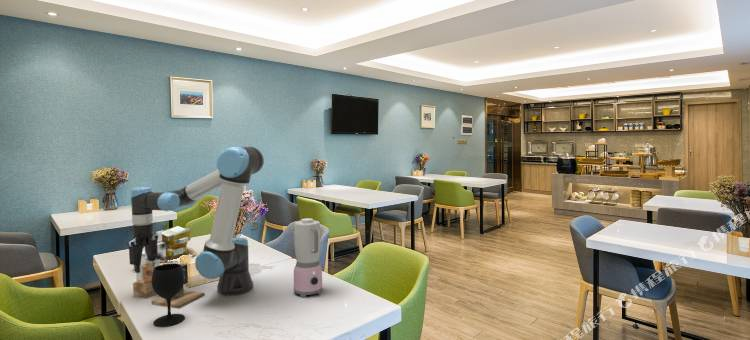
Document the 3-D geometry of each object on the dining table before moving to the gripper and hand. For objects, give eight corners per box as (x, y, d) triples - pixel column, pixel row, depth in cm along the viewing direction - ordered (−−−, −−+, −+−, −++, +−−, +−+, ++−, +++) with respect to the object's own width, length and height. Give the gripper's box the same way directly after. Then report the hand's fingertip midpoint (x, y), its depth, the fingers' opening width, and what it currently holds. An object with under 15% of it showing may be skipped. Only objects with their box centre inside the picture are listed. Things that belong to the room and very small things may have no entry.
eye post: (188, 294, 168) (187, 264, 167) (173, 301, 160) (172, 269, 159) (183, 293, 169) (182, 263, 168) (168, 300, 161) (167, 269, 160)
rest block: (156, 293, 171) (155, 280, 171) (146, 298, 166) (145, 284, 166) (143, 292, 173) (143, 279, 173) (133, 296, 168) (132, 283, 168)
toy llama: (145, 267, 210) (143, 229, 208) (166, 271, 202) (165, 233, 200) (130, 271, 203) (129, 232, 202) (152, 276, 195) (150, 236, 194)
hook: (181, 283, 166) (181, 267, 166) (173, 287, 162) (173, 270, 162) (145, 279, 172) (145, 263, 172) (136, 282, 168) (136, 266, 167)
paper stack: (203, 256, 230) (203, 227, 229) (158, 266, 212) (156, 235, 211) (185, 249, 247) (184, 222, 246) (141, 257, 228) (140, 228, 227)
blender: (289, 290, 174) (288, 218, 172) (314, 285, 181) (313, 215, 179) (303, 302, 161) (302, 224, 159) (330, 296, 168) (329, 221, 166)
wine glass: (177, 312, 152) (175, 261, 151) (190, 319, 145) (188, 266, 144) (148, 321, 144) (146, 267, 143) (160, 329, 137) (158, 273, 136)
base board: (204, 295, 169) (204, 292, 169) (179, 308, 156) (179, 305, 156) (178, 292, 173) (178, 289, 173) (151, 304, 160) (151, 301, 160)
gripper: (152, 219, 177) (154, 270, 179) (117, 227, 161) (119, 283, 162) (166, 220, 175) (168, 272, 176) (131, 228, 158) (133, 285, 160)
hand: (144, 277), depth 169 cm, fingers closed on hook, 4 cm apart
